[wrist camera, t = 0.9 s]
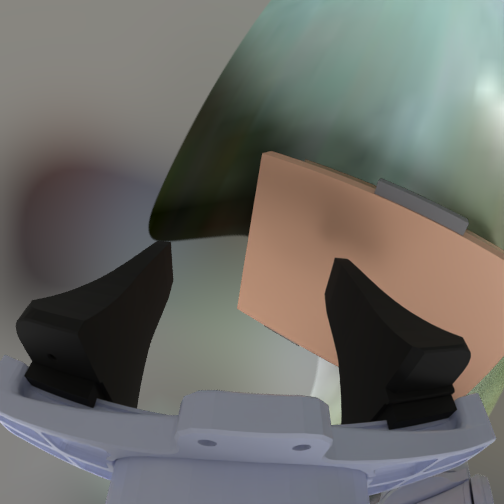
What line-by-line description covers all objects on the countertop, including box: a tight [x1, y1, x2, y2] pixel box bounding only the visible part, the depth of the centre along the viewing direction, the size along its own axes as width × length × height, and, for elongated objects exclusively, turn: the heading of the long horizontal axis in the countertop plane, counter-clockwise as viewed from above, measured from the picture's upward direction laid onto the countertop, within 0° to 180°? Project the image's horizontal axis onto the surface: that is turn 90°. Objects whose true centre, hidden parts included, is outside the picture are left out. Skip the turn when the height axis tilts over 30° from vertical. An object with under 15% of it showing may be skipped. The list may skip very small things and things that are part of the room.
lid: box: [237, 151, 504, 400], centre depth 16 cm, size 13×18×1 cm
